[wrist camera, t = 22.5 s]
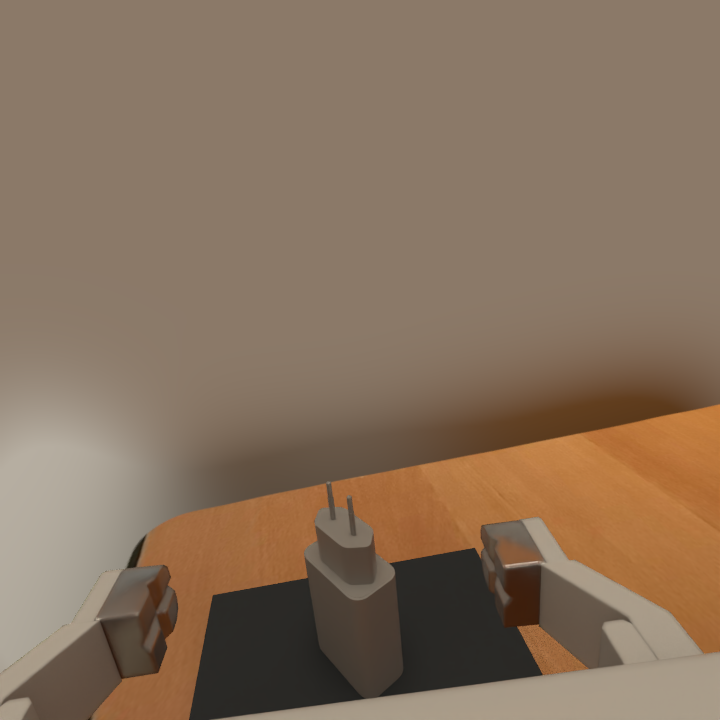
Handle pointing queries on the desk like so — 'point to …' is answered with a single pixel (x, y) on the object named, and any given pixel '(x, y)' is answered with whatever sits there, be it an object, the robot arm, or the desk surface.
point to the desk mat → (320, 676)
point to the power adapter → (354, 600)
